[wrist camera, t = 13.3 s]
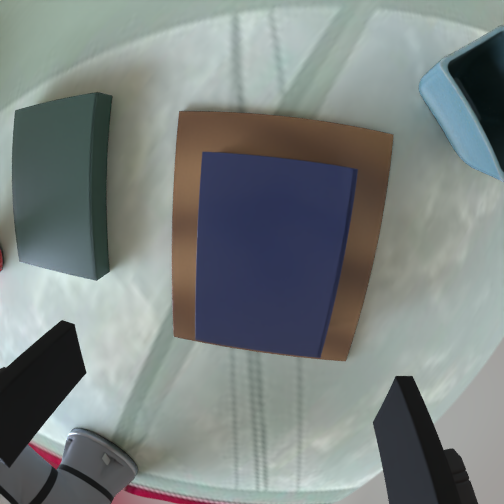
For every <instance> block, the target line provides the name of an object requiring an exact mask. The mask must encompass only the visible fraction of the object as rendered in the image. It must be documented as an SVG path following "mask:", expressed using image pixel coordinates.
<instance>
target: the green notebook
mask: <svg viewBox="0 0 504 504" xmlns="http://www.w3.org/2000/svg"><path fill="white" fill-rule="evenodd" d="M111 102H112V96H111V95H107V94H103V93H99V92H96V93H90V94H84V95H79V96H73V97H68V98H63V99H59V100H54V101H50V102H46V103H41V104H37V105H34V106H30V107H26V108H22V109H19V110H16V111H15V118H14V130H13V147H12V193H13V211H14V223H15V233H16V241H17V249H18V256H19V262H23V263H26V264H30V265H34V266H38V267H42V268H46V269H50V270H54V271H58V272H62V273H66V274H70V275H74V276H79V277H83V278H87V279H92V280H96V281H97V280H98V279H100V278H101V277H103V276H104V275H105V274H107V273H108V272H109V259H108V243H107V218H106V174H107V149H108V133H109V121H110V111H111Z"/></svg>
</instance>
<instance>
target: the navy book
mask: <svg viewBox="0 0 504 504" xmlns="http://www.w3.org/2000/svg"><path fill="white" fill-rule="evenodd" d="M357 175H358V169H355V168H350V167H344V166H338V165H331V164H325V163H318V162H311V161H303V160H295V159H287V158H278V157H269V156H259V155H248V154H236V153H223V152H202V162H201V176H200V191H199V208H198V228H197V253H196V293H195V340H198V341H203V342H209V343H214V344H220V345H226V346H232V347H238V348H244V349H251V350H257V351H264V352H272V353H279V354H287V355H296V356H305V357H315V358H321V354H322V351H323V347H324V343H325V339H326V335H327V331H328V327H329V323H330V319H331V315H332V311H333V307H334V302H335V298H336V294H337V289H338V284H339V280H340V275H341V270H342V265H343V260H344V255H345V250H346V244H347V239H348V233H349V228H350V222H351V216H352V209H353V203H354V196H355V189H356V182H357Z"/></svg>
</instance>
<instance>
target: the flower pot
mask: <svg viewBox="0 0 504 504" xmlns="http://www.w3.org/2000/svg"><path fill="white" fill-rule="evenodd" d="M419 91H420V94H421V96H422V98H423V100H424V101H425V103H426V104H427V106H428V107H429V109H430V110H431V112H432V113H433V115H434V117H435V118H436V120H437V121H438V123H439V125H440V126H441V128H442V130H443V131H444V133H445V135H446V137H447V139H448V140H449V142H450V144H451V145H452V147H453V149H454V150H455V152H456V153H457V154H458V156H459V157H460V158H461V159H462V160H463V161H464V162H465V163H466V164H468V165H469V166H470V167H472V168H474V169H476V170H478V171H481V172H483V173H485V174H487V175H490V176H492V177H494V178H496V179H498V180H501V181H503V182H504V26H503V25H500V26H498V27H497V28H495V29H493V30H492V31H490V32H488V33H487V34H485V35H483V36H482V37H480V38H478V39H477V40H475V41H473V42H471V43H469V44H468V45H466V46H464V47H462V48H461V49H459V50H457V51H455V52H453V53H451V54H450V55H448V56H446V57H444V58H443V59H441V60H440V61H439V62H438V63H437V64H436V65H435V66H434V67H433V68H432V69H430V70H429V71H428V72H427V73H426V74H425V75H424V76H423V77H422V79H421V81H420V83H419Z"/></svg>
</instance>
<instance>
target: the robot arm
mask: <svg viewBox="0 0 504 504" xmlns="http://www.w3.org/2000/svg"><path fill="white" fill-rule="evenodd" d="M85 374H86V369H85V366H84V362H83V358H82V354H81V350H80V346H79V342H78V338H77V333H76V329H75V324H72V323H69V322H66V321H63V320H61V321H60V322H59V323H58V324H57V325H55V326H54V327H53V328H52V329H51V330H49V331H48V332H47V333H46V334H45V335H43V336H42V337H41V338H40V339H39V340H37V341H36V342H35V343H34V344H33V345H32V346H30V347H29V348H28V349H27V350H26V351H25V352H23V353H22V354H21V355H20V356H19V357H18V358H17V359H16V360H14V361H13V362H12V363H11V364H10V365H9V366H8V367H7V368H5V367H3V368H1V369H0V504H111V503H112V500H113V499H114V497H115V495H116V494H117V493H118V492H120V491H121V490H122V489H123V488H124V487H126V486H127V485H128V484H129V483H130V482H131V481H132V480H133V479H134V478H135V476H136V474H137V472H138V469H137V466H136V464H135V463H134V461H133V460H132V459H131V458H130V457H129V456H128V455H127V454H126V453H125V452H123V451H122V450H121V449H120V448H118V447H117V446H115V445H114V444H113V443H111V442H109V441H108V440H106V439H105V438H103V437H101V436H99V435H97V434H95V433H93V432H90V431H88V430H84V429H79V428H76V429H73V430H72V431H71V432H70V434H69V435H68V437H67V440H66V445H65V449H64V453H63V458H62V462H61V464H60V465H59V467H58V468H57V470H56V469H55V468H53V467H52V466H51V465H50V464H49V463H48V462H46V461H45V460H44V459H43V458H42V457H41V456H40V455H39V454H37V453H36V452H35V451H34V450H33V449H32V448H31V447H30V446H29V445H28V443H29V442H30V441H31V439H32V438H33V437H34V436H35V434H36V433H37V432H38V431H39V429H40V428H41V427H42V426H43V424H44V423H45V422H46V421H47V419H48V418H49V417H50V416H51V414H52V413H53V412H54V411H55V410H56V408H57V407H58V406H59V405H60V404H61V402H62V401H63V400H64V399H65V397H66V396H67V395H68V394H69V393H70V392H71V390H72V389H73V388H74V387H75V386H76V384H77V383H78V382H79V381H80V380H81V379H82V377H83V376H84V375H85ZM373 425H374V429H375V434H376V438H377V443H378V447H379V452H380V457H381V462H382V467H383V472H384V477H385V482H386V488H387V493H388V499H389V504H478V502H477V499H476V496H475V493H474V490H473V487H472V485H471V482H470V481H469V476H468V474H467V472H466V471H465V470H466V468H465V466H464V463H463V461H462V458H461V457H460V456H459V455H458V453H457V452H456V451H455V450H454V449H447V450H443V447H442V445H441V442H440V440H439V437H438V434H437V432H436V430H435V427H434V424H433V422H432V420H431V417H430V415H429V412H428V410H427V408H426V405H425V403H424V401H423V398H422V396H421V394H420V392H419V389H418V387H417V385H416V383H415V381H414V378H413V376H396V377H395V379H394V381H393V383H392V385H391V388H390V390H389V392H388V394H387V396H386V398H385V400H384V402H383V404H382V406H381V408H380V410H379V412H378V414H377V416H376V418H375V419H374V421H373Z"/></svg>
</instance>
